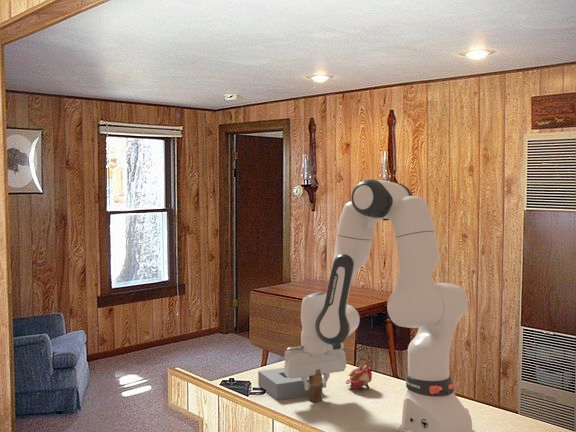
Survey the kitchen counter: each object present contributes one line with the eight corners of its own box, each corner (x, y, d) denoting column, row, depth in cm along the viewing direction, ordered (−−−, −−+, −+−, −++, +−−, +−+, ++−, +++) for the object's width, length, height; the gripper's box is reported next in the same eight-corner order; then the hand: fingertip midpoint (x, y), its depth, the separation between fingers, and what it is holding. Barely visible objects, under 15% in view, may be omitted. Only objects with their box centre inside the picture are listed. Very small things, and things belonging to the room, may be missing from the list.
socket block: (322, 393, 192) (322, 377, 191) (276, 400, 185) (276, 384, 185) (301, 379, 206) (301, 365, 206) (258, 385, 200) (258, 371, 200)
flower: (379, 380, 199) (365, 359, 201) (380, 382, 190) (366, 361, 192) (355, 396, 199) (341, 376, 201) (355, 400, 190) (341, 378, 192)
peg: (324, 400, 184) (323, 369, 184) (312, 402, 182) (312, 370, 182) (318, 397, 188) (318, 365, 187) (306, 398, 186) (306, 367, 186)
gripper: (288, 350, 177) (289, 396, 178) (348, 343, 186) (348, 386, 186) (280, 345, 183) (280, 390, 184) (338, 339, 192) (338, 381, 192)
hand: (315, 388), depth 185 cm, fingers closed on peg, 4 cm apart
